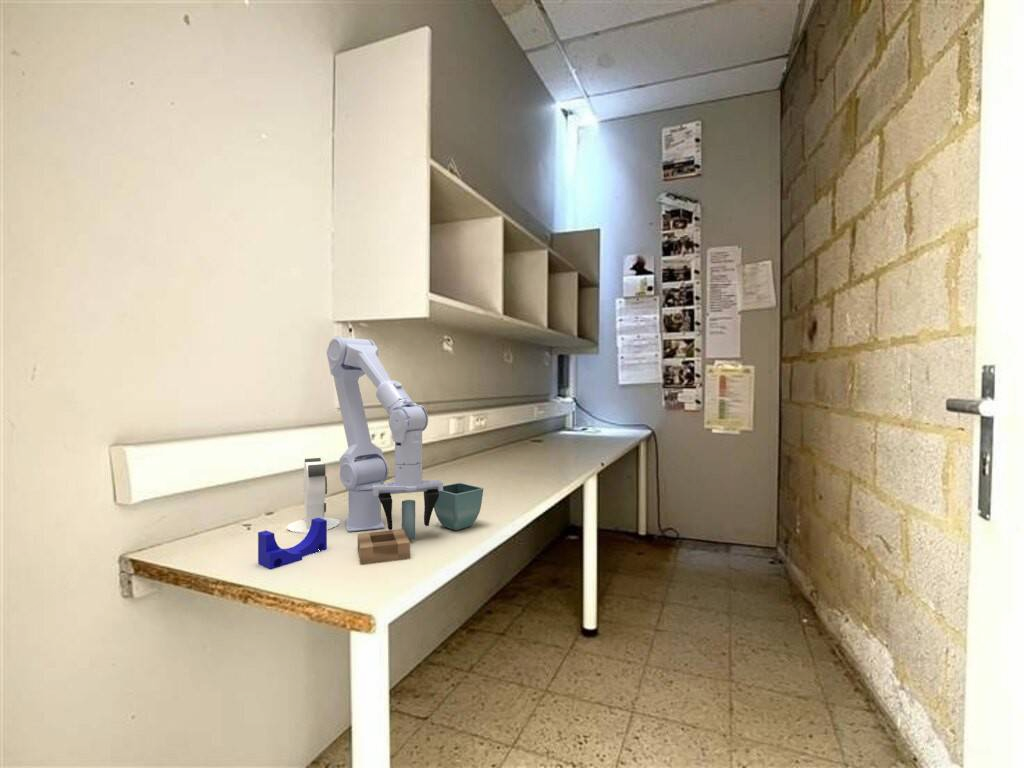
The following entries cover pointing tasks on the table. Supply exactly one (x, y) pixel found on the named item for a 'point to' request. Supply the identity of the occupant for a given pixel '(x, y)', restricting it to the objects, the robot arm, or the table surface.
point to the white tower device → (313, 496)
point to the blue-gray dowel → (408, 518)
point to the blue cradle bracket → (277, 557)
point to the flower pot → (458, 505)
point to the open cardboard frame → (383, 546)
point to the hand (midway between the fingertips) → (408, 526)
